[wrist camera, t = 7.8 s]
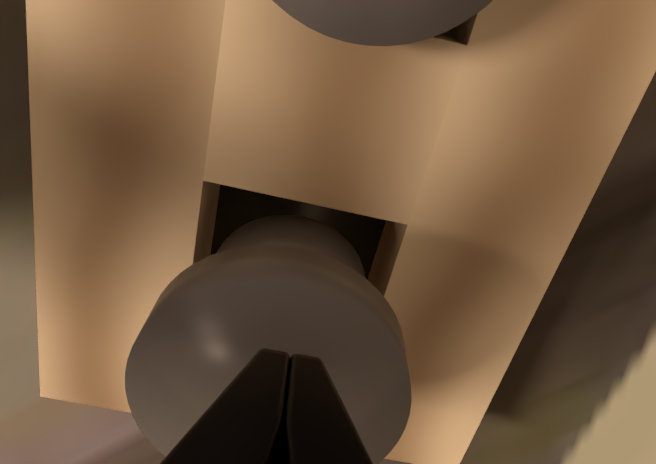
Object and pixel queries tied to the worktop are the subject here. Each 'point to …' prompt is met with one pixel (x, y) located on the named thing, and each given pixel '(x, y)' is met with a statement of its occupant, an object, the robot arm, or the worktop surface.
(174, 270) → the mount board
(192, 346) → the knob
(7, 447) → the worktop surface
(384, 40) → the knob middle
